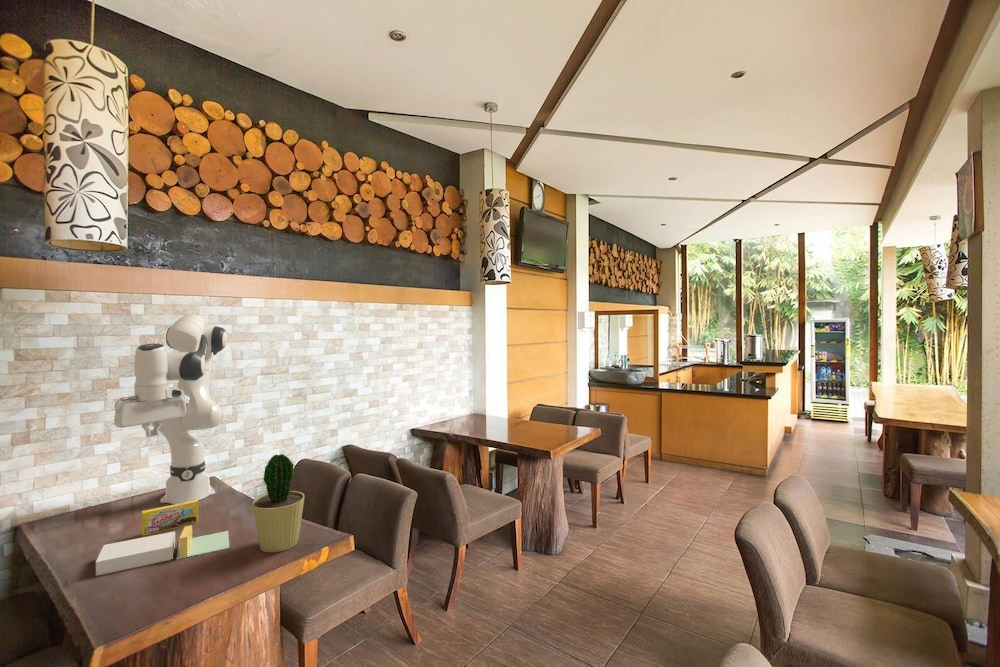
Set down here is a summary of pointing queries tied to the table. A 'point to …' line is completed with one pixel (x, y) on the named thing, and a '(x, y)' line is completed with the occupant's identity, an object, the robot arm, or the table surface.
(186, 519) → the candy box
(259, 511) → the potted cactus
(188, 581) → the table surface
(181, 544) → the block
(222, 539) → the mat
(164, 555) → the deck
